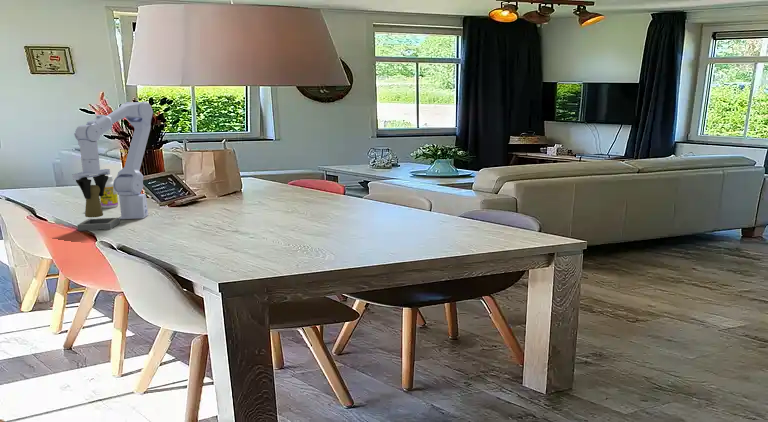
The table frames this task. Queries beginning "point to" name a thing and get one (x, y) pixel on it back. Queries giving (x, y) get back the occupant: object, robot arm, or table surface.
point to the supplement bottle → (109, 195)
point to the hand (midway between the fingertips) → (94, 197)
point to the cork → (93, 203)
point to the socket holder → (98, 224)
